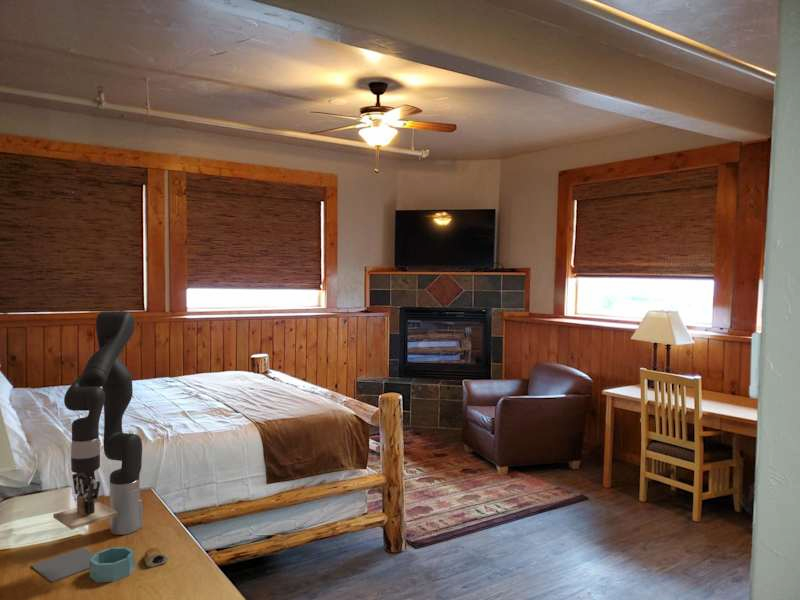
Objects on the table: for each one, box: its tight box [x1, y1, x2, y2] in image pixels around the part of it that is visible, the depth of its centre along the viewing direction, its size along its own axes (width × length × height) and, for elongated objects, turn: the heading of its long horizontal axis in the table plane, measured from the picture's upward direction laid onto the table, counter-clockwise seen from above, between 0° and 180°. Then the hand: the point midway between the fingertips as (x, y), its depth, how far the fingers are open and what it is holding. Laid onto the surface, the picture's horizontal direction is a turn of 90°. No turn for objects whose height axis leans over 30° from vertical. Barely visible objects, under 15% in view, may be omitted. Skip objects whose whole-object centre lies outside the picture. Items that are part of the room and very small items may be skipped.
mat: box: [30, 547, 95, 584], centre depth 177 cm, size 15×15×1 cm
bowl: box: [89, 546, 136, 583], centre depth 173 cm, size 11×11×5 cm
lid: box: [52, 494, 118, 530], centre depth 174 cm, size 13×13×6 cm
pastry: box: [143, 547, 170, 568], centre depth 181 cm, size 9×7×4 cm
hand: (86, 511), depth 174 cm, fingers closed on lid, 3 cm apart
